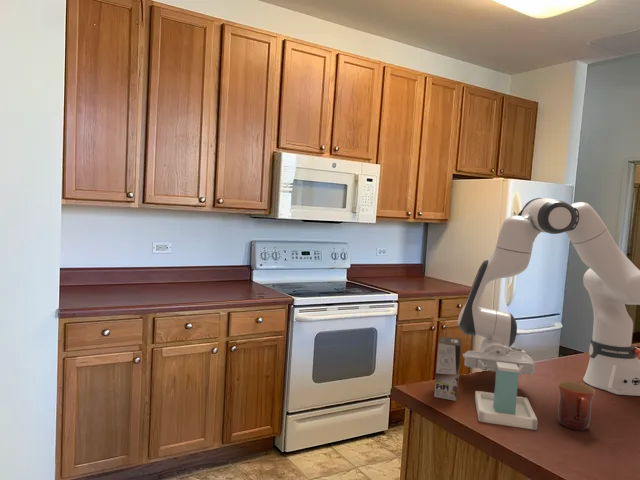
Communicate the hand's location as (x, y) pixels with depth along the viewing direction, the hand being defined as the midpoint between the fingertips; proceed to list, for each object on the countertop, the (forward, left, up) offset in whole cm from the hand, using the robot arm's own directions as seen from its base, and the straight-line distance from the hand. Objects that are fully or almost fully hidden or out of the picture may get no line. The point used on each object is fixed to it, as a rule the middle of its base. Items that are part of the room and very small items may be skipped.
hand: (501, 370), depth 143 cm
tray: (0, +12, -8) cm, 14 cm away
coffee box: (+15, +3, -9) cm, 18 cm away
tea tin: (0, +12, -7) cm, 14 cm away
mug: (-17, +15, -9) cm, 24 cm away
